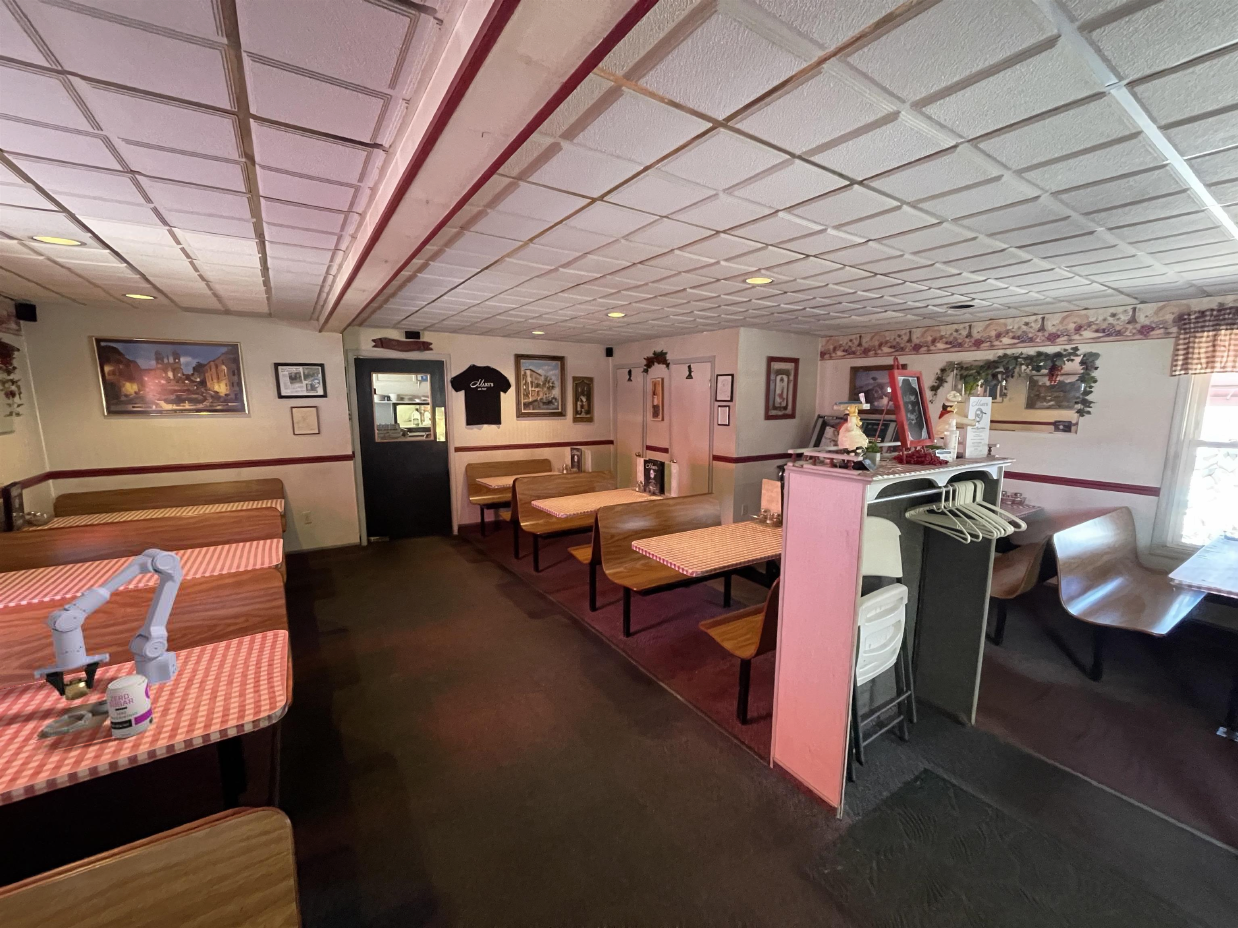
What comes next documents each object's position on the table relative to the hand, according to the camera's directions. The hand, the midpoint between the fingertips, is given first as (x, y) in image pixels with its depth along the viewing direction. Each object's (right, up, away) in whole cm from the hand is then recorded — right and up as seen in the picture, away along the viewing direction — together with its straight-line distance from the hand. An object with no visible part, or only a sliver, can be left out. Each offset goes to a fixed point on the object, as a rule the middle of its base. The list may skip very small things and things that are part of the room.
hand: (77, 690), depth 141 cm
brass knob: (0, -1, 0) cm, 1 cm away
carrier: (+5, -7, -2) cm, 9 cm away
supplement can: (+24, -8, -7) cm, 26 cm away
